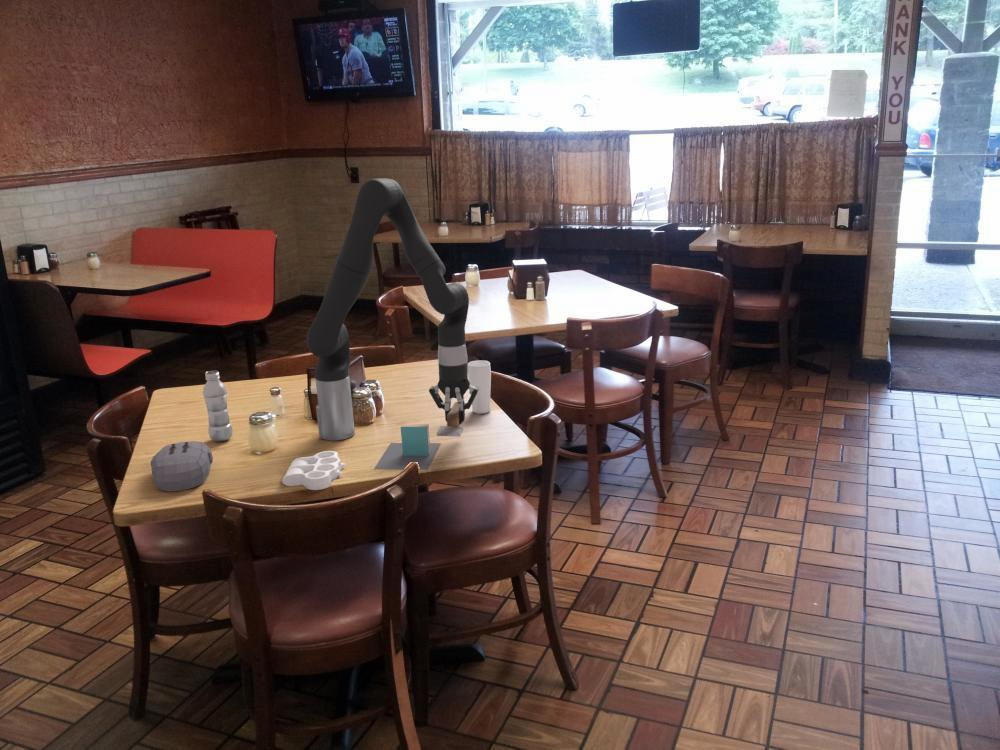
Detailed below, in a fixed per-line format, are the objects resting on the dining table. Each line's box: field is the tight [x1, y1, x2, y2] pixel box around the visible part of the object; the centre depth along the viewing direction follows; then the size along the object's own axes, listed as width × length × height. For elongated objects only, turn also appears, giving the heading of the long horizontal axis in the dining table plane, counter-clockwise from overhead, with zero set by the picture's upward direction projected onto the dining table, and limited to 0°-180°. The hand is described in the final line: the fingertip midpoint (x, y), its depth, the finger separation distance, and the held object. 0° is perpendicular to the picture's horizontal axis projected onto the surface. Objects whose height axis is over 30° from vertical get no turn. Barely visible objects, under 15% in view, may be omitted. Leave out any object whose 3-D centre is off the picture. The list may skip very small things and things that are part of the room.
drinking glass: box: [467, 359, 492, 415], centre depth 262 cm, size 7×7×15 cm
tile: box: [400, 423, 431, 456], centre depth 231 cm, size 7×2×8 cm, turn 83°
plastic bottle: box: [202, 370, 233, 442], centre depth 248 cm, size 6×7×20 cm
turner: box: [436, 401, 466, 438], centre depth 234 cm, size 6×17×4 cm, turn 172°
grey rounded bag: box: [150, 440, 214, 492], centre depth 225 cm, size 15×8×20 cm
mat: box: [373, 442, 442, 471], centre depth 232 cm, size 14×18×1 cm
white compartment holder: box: [281, 450, 348, 491], centre depth 223 cm, size 3×18×15 cm
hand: (455, 422), depth 235 cm, fingers closed on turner, 2 cm apart
